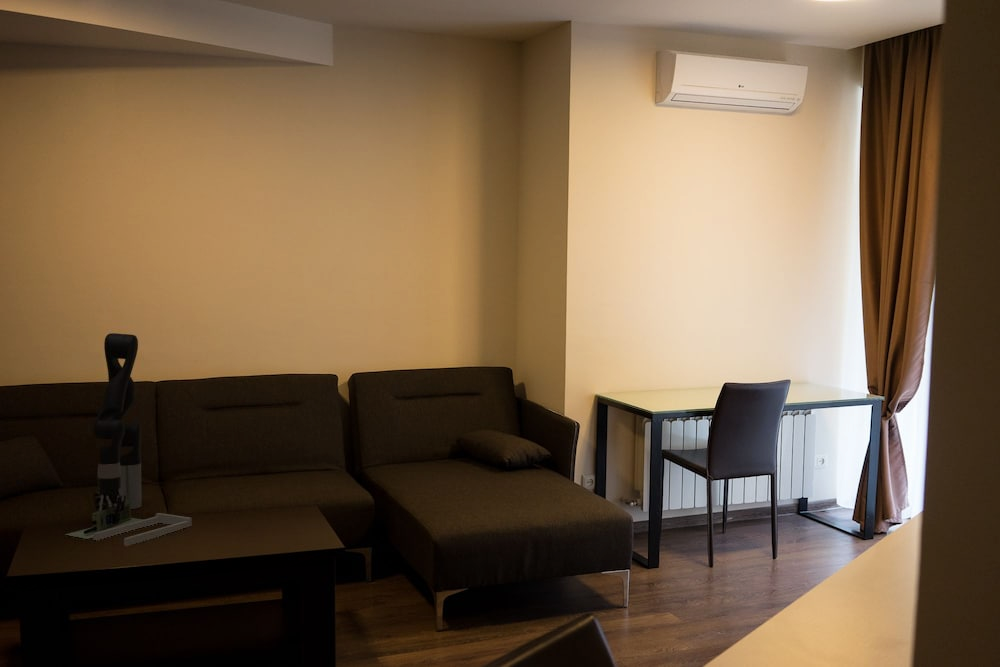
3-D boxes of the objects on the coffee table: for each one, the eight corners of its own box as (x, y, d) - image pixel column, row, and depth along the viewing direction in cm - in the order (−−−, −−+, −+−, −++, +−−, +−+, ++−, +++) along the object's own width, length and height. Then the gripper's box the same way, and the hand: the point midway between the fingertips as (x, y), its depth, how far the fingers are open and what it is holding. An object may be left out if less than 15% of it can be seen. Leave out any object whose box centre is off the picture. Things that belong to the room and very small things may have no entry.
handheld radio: (132, 519, 336) (89, 536, 312) (124, 519, 337) (81, 536, 312) (132, 501, 336) (88, 516, 312) (124, 501, 337) (80, 516, 312)
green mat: (64, 535, 314) (64, 534, 314) (130, 518, 339) (130, 517, 339) (87, 539, 309) (87, 538, 309) (151, 522, 334) (151, 520, 334)
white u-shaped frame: (93, 540, 308) (93, 530, 308) (158, 522, 334) (158, 512, 334) (127, 546, 301) (127, 535, 301) (191, 527, 327) (191, 517, 327)
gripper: (132, 475, 324) (132, 523, 324) (103, 472, 330) (104, 518, 331) (114, 479, 317) (115, 527, 318) (86, 475, 323) (86, 522, 324)
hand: (109, 522), depth 324 cm, fingers open, 5 cm apart
